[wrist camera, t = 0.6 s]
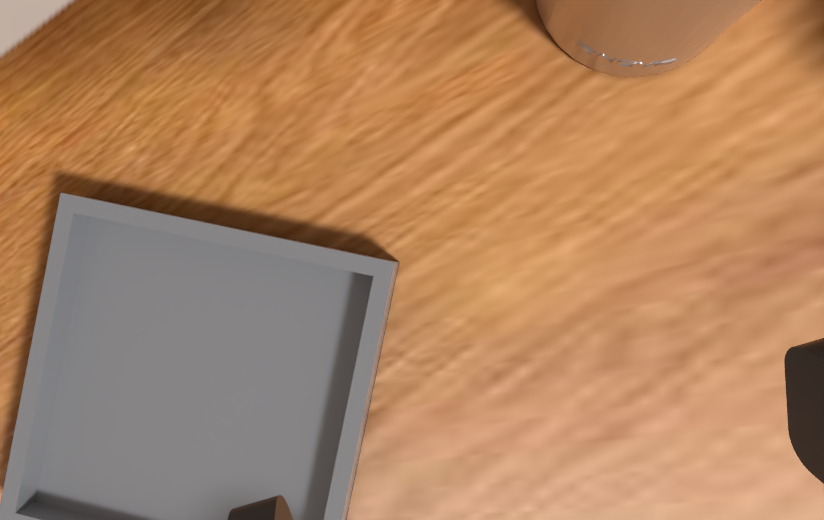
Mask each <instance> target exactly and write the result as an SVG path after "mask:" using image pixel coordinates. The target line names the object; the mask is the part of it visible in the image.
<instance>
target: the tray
mask: <svg viewBox="0 0 824 520" xmlns="http://www.w3.org/2000/svg"><path fill="white" fill-rule="evenodd" d="M398 266H399V262H397V261H392V260H387V259H382V258H378V257H373V256H368V255H363V254H358V253H354V252H349V251H344V250H339V249H334V248H330V247H325V246H320V245H315V244H310V243H306V242H301V241H296V240H291V239H286V238H282V237H277V236H272V235H267V234H263V233H258V232H253V231H248V230H243V229H239V228H234V227H229V226H224V225H219V224H215V223H210V222H205V221H200V220H195V219H191V218H186V217H181V216H176V215H171V214H167V213H162V212H157V211H152V210H147V209H143V208H138V207H133V206H128V205H123V204H119V203H114V202H109V201H104V200H99V199H95V198H90V197H85V196H78V195H72V194H66V193H60V198H59V203H58V208H57V214H56V219H55V224H54V229H53V234H52V239H51V245H50V250H49V255H48V260H47V265H46V271H45V276H44V281H43V286H42V291H41V296H40V302H39V307H38V312H37V317H36V322H35V327H34V333H33V338H32V343H31V348H30V353H29V358H28V364H27V369H26V374H25V379H24V384H23V389H22V395H21V400H20V405H19V410H18V415H17V420H16V426H15V431H14V436H13V441H12V446H11V451H10V457H9V462H8V467H7V472H6V477H5V482H4V488H3V493H2V498H1V503H0V520H228V516H229V513H230V511H231V510H232V509H233V508H237V507H240V506H243V505H247V504H250V503H254V502H257V501H261V500H264V499H268V498H271V497H274V496H278V495H282V496H283V497H284V499H285V500H286V502H287V505H288V507H289V510H290V512H291V515H292V518H293V520H346V519H347V514H348V509H349V504H350V499H351V494H352V489H353V485H354V480H355V475H356V470H357V465H358V460H359V455H360V451H361V446H362V441H363V436H364V431H365V426H366V421H367V417H368V412H369V407H370V402H371V397H372V392H373V387H374V382H375V378H376V373H377V368H378V363H379V358H380V353H381V348H382V344H383V339H384V334H385V329H386V324H387V319H388V314H389V309H390V305H391V300H392V295H393V290H394V285H395V280H396V275H397V271H398Z"/></svg>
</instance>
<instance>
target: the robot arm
mask: <svg viewBox="0 0 824 520" xmlns="http://www.w3.org/2000/svg"><path fill="white" fill-rule="evenodd" d="M760 1H761V0H536V4H537V9H538V12H539V14H540V17H541V19H542V21H543V23H544V25H545V28H546V30H547V31H548V32H549V34H550V35H551V36H552V38H553V39H554V40H555V42H556V43H557V44H558V46H559V47H560V48H561V49H563V50H564V51H565V52H566V53H567V54H568V55H570V56H571V57H572V58H573V59H574V60H576V61H578V62H580V63H581V64H583V65H585V66H587V67H589V68H591V69H593V70H595V71H599V72H602V73H606V74H609V75H613V76H623V77H642V76H649V75H657V74H660V73H663V72H665V71H668V70H671V69H674V68H677V67H679V66H681V65H682V64H684V63H686V62H687V61H689V60H691V59H692V58H694V57H696V56H697V55H698V54H699V53H701V52H702V51H703V50H704V49H705V48H706V47H707V46H709V45H710V44H711V43H712V42H713V41H714V40H715V39H717V38H718V37H719V36H720V35H721V34H722V33H724V32H725V31H726V30H727V29H728V28H729V27H731V26H732V25H733V24H734V23H736V22H737V21H738V20H739V19H740V18H742V17H743V16H744V15H745V14H746V13H747V12H749V11H750V10H751V9H752V8H753V7H754V6H755V5H757V4H758V3H759V2H760ZM785 380H786V396H787V413H788V430H789V436H790V440H791V443H792V446H793V448H794V450H795V452H796V454H797V456H798V457H799V459H800V461H801V462H802V463H803V465H804V466H805V467H806V468H807V469H808V470H809V471H810V472H811V473H812V474H813V475H814V476H815V477H817V478H818V479H819V480H820V481H821V482H822V483H824V338H822V339H819V340H815V341H812V342H809V343H805V344H802V345H798V346H795V347H791V348H790V349H789V350H788V351H787V353H786V355H785ZM228 520H293V518H292V515H291V512H290V510H289V507H288V505H287V502H286V500H285V499H284V497H283V496H282V495H278V496H274V497H271V498H268V499H264V500H261V501H257V502H254V503H250V504H247V505H243V506H240V507H237V508H233V509H232V510H231V511H230V513H229V516H228Z"/></svg>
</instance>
